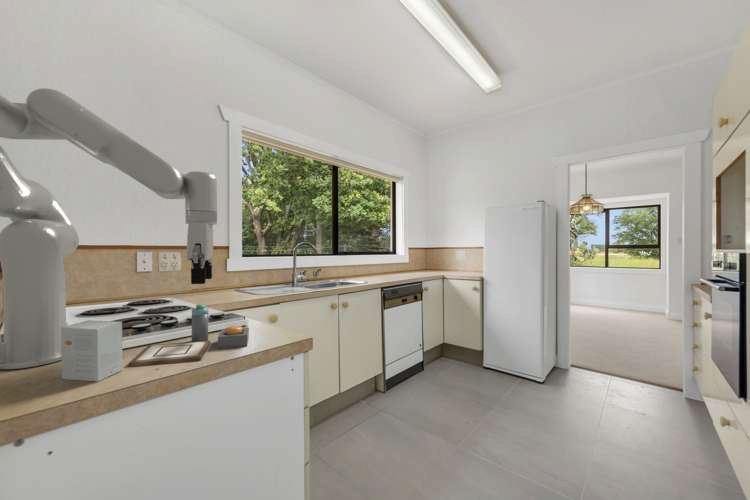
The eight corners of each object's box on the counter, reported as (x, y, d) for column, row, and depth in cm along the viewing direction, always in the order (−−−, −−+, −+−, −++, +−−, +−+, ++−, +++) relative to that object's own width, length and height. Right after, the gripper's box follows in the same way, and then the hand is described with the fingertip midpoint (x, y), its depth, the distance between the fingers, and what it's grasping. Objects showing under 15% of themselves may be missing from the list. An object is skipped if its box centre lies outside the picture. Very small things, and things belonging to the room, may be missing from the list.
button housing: (217, 348, 80) (217, 336, 80) (221, 340, 87) (221, 329, 87) (247, 346, 83) (247, 335, 83) (248, 338, 89) (248, 327, 89)
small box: (123, 370, 66) (123, 321, 66) (97, 382, 60) (97, 328, 60) (89, 368, 67) (89, 319, 66) (60, 379, 61) (60, 326, 61)
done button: (225, 337, 82) (225, 330, 82) (227, 333, 86) (227, 326, 86) (241, 336, 84) (241, 329, 84) (242, 332, 87) (242, 325, 87)
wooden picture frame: (128, 366, 68) (128, 362, 68) (148, 348, 79) (148, 344, 79) (200, 360, 73) (200, 356, 73) (210, 343, 84) (210, 340, 84)
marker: (189, 344, 83) (190, 306, 83) (193, 339, 87) (193, 303, 87) (206, 342, 85) (207, 306, 84) (209, 338, 88) (209, 303, 88)
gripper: (193, 219, 92) (193, 277, 92) (176, 216, 75) (177, 286, 76) (221, 220, 94) (221, 277, 95) (211, 217, 78) (211, 285, 79)
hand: (202, 281), depth 85 cm, fingers open, 9 cm apart
